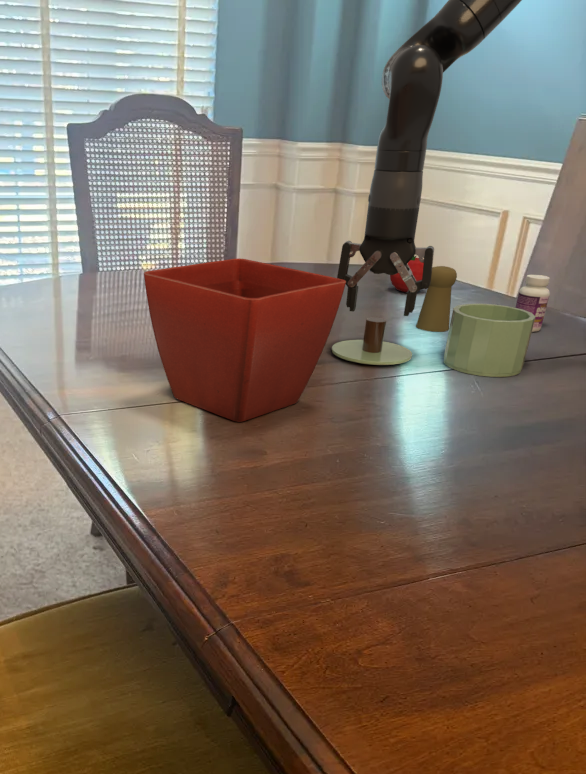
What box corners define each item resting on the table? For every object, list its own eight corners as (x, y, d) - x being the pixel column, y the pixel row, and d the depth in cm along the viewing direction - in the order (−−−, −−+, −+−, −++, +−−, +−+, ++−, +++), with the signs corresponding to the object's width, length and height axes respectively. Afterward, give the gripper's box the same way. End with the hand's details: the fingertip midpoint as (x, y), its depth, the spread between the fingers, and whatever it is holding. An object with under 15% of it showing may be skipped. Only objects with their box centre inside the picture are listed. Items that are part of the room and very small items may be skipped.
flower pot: (334, 404, 107) (350, 278, 98) (242, 438, 95) (252, 298, 87) (232, 371, 118) (239, 256, 110) (139, 398, 107) (139, 272, 98)
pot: (472, 351, 132) (483, 300, 128) (536, 369, 124) (550, 315, 119) (428, 361, 126) (438, 309, 121) (492, 381, 117) (505, 325, 113)
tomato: (384, 286, 177) (389, 250, 173) (422, 288, 177) (428, 251, 173) (391, 295, 170) (397, 257, 166) (431, 296, 169) (438, 258, 166)
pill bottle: (537, 334, 143) (551, 280, 138) (507, 329, 145) (520, 276, 141) (542, 328, 147) (556, 275, 142) (513, 324, 149) (526, 272, 145)
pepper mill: (453, 332, 143) (465, 270, 137) (420, 331, 143) (431, 269, 137) (443, 324, 148) (454, 264, 142) (412, 323, 148) (422, 263, 142)
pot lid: (367, 342, 135) (372, 306, 132) (427, 360, 126) (434, 323, 123) (314, 353, 128) (319, 316, 125) (374, 373, 119) (380, 334, 116)
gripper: (444, 203, 117) (426, 311, 125) (350, 198, 121) (338, 304, 129) (441, 208, 111) (422, 322, 119) (342, 203, 115) (330, 313, 123)
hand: (378, 312), depth 124 cm, fingers open, 8 cm apart
